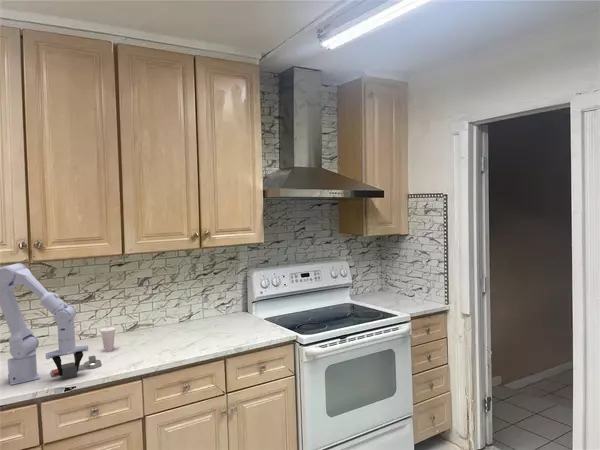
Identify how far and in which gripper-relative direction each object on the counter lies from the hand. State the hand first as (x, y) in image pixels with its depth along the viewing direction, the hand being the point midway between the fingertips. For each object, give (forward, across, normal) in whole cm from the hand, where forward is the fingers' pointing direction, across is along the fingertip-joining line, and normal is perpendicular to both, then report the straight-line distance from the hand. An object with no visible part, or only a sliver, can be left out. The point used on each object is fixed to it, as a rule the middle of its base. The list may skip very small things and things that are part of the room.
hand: (68, 373), depth 177 cm
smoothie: (+2, +21, +23) cm, 31 cm away
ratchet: (+2, +4, +6) cm, 7 cm away
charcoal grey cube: (+1, 0, 0) cm, 1 cm away
